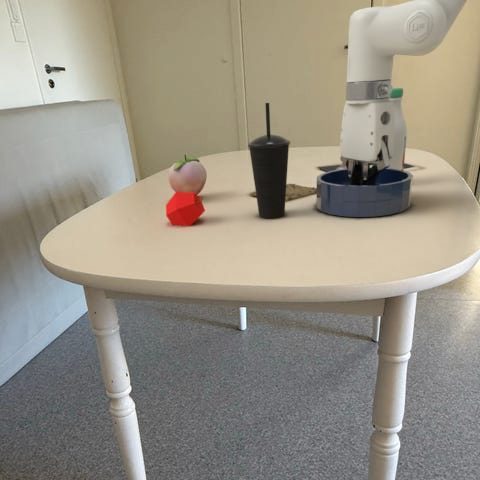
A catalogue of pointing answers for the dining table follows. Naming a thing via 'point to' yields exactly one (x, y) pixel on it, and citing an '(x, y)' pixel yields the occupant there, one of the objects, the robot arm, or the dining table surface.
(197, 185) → the decorative fruit
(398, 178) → the bowl
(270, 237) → the dining table surface
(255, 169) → the drinking cup
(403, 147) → the milk bottle
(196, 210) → the red faceted polyhedron
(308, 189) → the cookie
